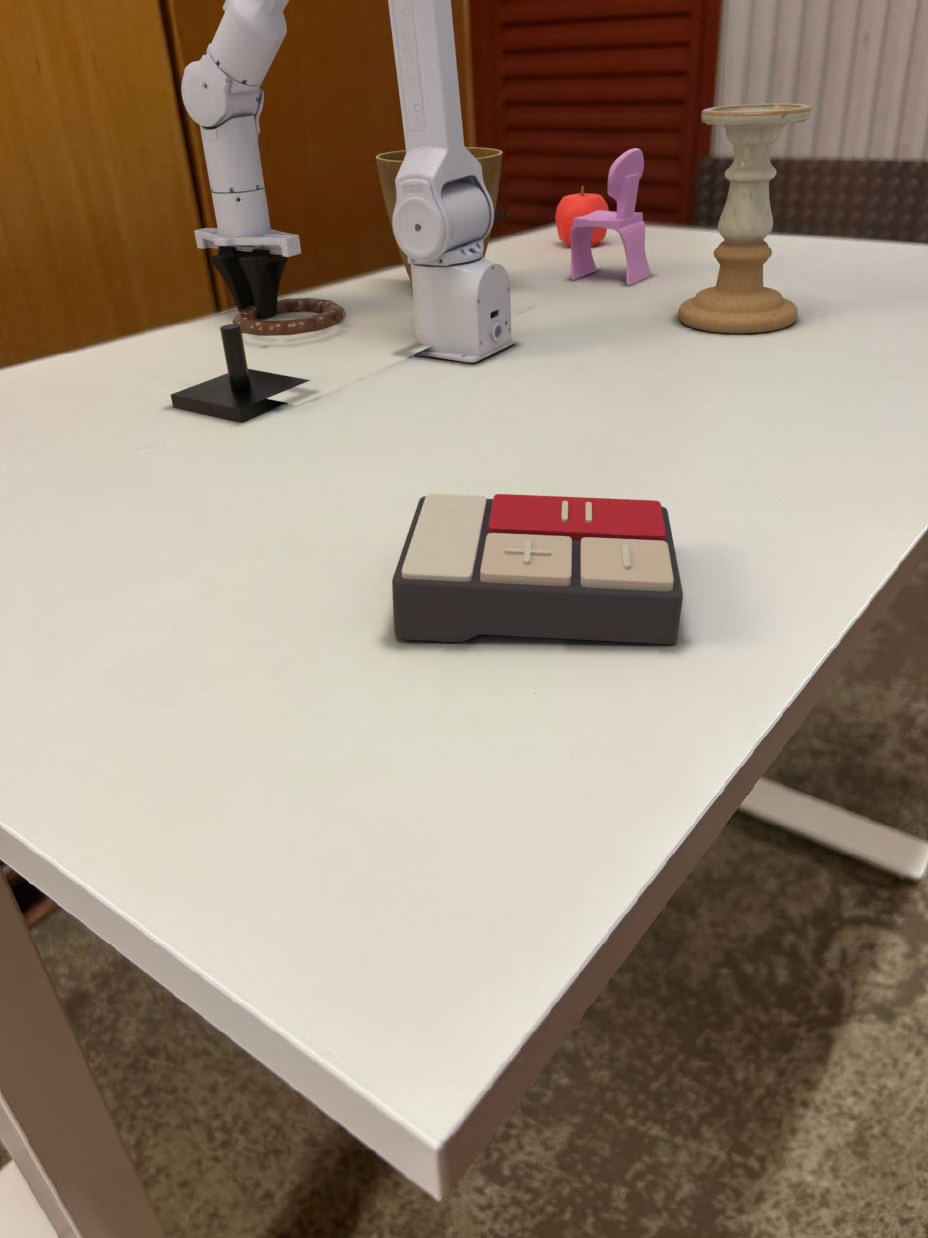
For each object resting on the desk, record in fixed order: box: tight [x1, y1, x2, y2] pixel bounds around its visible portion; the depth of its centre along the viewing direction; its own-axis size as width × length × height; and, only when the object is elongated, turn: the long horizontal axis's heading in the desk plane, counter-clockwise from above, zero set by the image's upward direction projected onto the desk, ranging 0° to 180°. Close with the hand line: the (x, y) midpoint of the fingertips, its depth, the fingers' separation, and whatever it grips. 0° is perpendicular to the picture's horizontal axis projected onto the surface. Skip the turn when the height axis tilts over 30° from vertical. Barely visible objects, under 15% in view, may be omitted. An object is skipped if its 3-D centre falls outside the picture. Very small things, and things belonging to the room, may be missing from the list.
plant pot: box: [375, 146, 504, 284], centre depth 116 cm, size 15×15×16 cm
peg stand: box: [170, 323, 311, 423], centre depth 87 cm, size 9×9×7 cm
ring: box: [231, 297, 347, 337], centre depth 108 cm, size 12×12×2 cm
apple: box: [554, 185, 610, 248], centre depth 141 cm, size 8×8×8 cm
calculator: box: [391, 493, 684, 645], centre depth 54 cm, size 11×4×15 cm
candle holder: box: [678, 102, 814, 334], centre depth 98 cm, size 12×12×20 cm
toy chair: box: [570, 147, 652, 286], centre depth 119 cm, size 8×9×15 cm
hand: (258, 317), depth 111 cm, fingers closed on ring, 2 cm apart
